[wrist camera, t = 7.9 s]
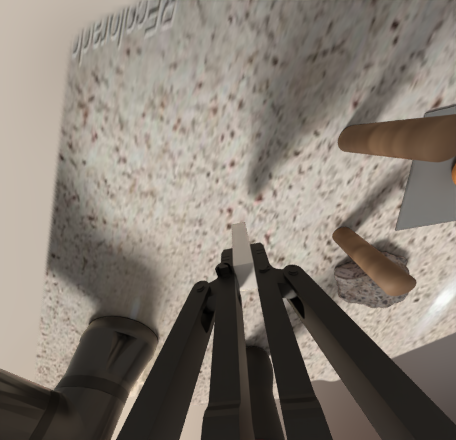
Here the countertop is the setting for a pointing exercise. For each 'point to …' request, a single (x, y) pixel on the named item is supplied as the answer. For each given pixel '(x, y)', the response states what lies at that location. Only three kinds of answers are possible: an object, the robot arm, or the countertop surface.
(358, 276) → the rock
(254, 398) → the cola bottle
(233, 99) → the countertop surface
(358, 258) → the post
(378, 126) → the post
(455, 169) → the ball
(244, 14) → the countertop surface
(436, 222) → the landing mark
